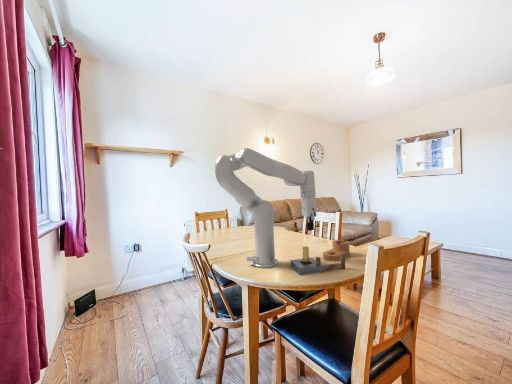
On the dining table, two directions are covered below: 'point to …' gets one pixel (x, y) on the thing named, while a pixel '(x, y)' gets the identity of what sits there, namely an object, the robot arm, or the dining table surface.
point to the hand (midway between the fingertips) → (310, 229)
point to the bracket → (337, 251)
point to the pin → (305, 255)
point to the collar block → (306, 266)
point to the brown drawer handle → (332, 266)
